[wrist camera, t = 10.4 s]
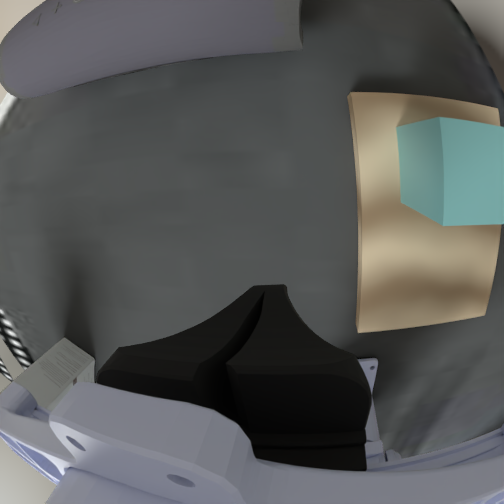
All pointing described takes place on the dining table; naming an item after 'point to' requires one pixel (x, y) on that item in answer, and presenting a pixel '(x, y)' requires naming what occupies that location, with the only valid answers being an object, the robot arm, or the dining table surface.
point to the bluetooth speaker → (136, 38)
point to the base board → (412, 225)
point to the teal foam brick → (453, 170)
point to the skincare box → (57, 373)
